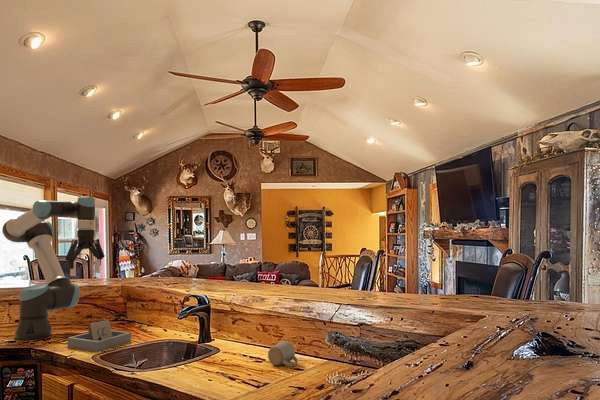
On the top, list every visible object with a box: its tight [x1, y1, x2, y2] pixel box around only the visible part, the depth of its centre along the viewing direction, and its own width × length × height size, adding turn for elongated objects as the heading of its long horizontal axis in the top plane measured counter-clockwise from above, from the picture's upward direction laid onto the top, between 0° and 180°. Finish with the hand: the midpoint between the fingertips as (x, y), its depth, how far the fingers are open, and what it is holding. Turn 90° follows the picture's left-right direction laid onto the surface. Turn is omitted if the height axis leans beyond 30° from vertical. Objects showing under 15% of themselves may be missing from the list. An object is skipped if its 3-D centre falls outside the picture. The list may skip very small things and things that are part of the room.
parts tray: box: [67, 329, 132, 353], centre depth 205 cm, size 18×18×4 cm
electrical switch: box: [87, 319, 112, 341], centre depth 206 cm, size 9×5×9 cm, turn 151°
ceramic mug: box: [267, 340, 299, 368], centre depth 176 cm, size 11×8×8 cm
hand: (85, 274), depth 222 cm, fingers open, 13 cm apart
